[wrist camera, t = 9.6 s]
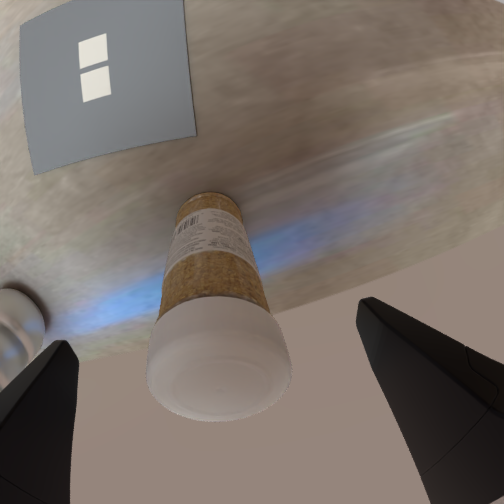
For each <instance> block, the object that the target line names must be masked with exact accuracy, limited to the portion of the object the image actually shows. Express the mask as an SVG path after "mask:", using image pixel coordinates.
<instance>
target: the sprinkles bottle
mask: <svg viewBox="0 0 504 504" xmlns="http://www.w3.org/2000/svg"><path fill="white" fill-rule="evenodd" d="M291 378H292V364H291V360H290V356H289V353H288V350H287V346H286V343H285V340H284V337H283V334H282V331H281V328H280V326H279V324H278V323H277V321H276V320H275V318H274V317H273V316H272V315H271V314H270V311H269V307H268V304H267V301H266V298H265V295H264V291H263V285H262V281H261V278H260V274H259V271H258V268H257V265H256V262H255V259H254V255H253V252H252V249H251V246H250V243H249V240H248V237H247V233H246V231H245V229H244V227H243V220H242V216H241V212H240V210H239V209H238V207H237V206H236V204H235V203H234V202H233V201H232V200H231V199H230V198H228V197H226V196H224V195H223V194H219V193H214V192H205V193H200V194H197V195H195V196H193V197H192V198H190V199H188V200H187V202H185V203H184V204H183V205H182V207H181V208H180V210H179V212H178V214H177V218H176V229H175V231H174V233H173V237H172V241H171V245H170V250H169V254H168V258H167V263H166V268H165V273H164V278H163V283H162V298H161V305H160V310H159V317H158V319H157V321H156V323H155V326H154V328H153V330H152V332H151V336H150V341H149V347H148V355H147V366H146V381H147V384H148V388H149V390H150V391H151V393H152V395H153V396H154V398H155V399H156V400H157V401H158V402H159V403H160V404H161V405H163V406H164V407H165V408H167V409H168V410H170V411H172V412H174V413H176V414H178V415H181V416H183V417H187V418H190V419H194V420H200V421H210V422H223V421H232V420H238V419H242V418H246V417H249V416H252V415H254V414H257V413H259V412H261V411H263V410H265V409H267V408H268V407H270V406H271V405H273V404H274V403H275V402H276V401H278V400H279V399H280V398H281V397H282V396H283V394H284V393H285V392H286V390H287V388H288V387H289V384H290V381H291Z"/></svg>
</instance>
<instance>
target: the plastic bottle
mask: <svg viewBox="0 0 504 504" xmlns="http://www.w3.org/2000/svg"><path fill="white" fill-rule="evenodd" d="M44 335H45V324H44V319H43V316H42V314H41V311H40V310H39V308H38V307H37V305H36V304H35V303H34V302H33V301H32V300H31V299H30V298H29V297H28V296H27V295H25V294H24V293H22V292H20V291H18V290H15V289H0V392H1V391H2V390H3V389H4V388H5V387H6V386H7V385H8V384H9V383H10V382H11V381H12V380H13V379H14V378H15V377H16V376H17V375H18V374H19V373H20V372H21V371H22V370H24V369H25V367H26V366H27V364H29V363H30V362H31V360H32V359H33V358H34V357H35V355H36V354H37V352H38V351H39V350H40V348H41V346H42V342H43V339H44Z"/></svg>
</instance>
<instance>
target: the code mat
mask: <svg viewBox="0 0 504 504" xmlns="http://www.w3.org/2000/svg"><path fill="white" fill-rule="evenodd" d="M20 81H21V95H22V105H23V114H24V122H25V129H26V135H27V141H28V147H29V152H30V157H31V162H32V167H33V171H34V175H37V174H40V173H43V172H46V171H49V170H52V169H55V168H58V167H62V166H65V165H68V164H71V163H75V162H78V161H82V160H85V159H89V158H93V157H96V156H100V155H104V154H108V153H112V152H116V151H120V150H125V149H129V148H133V147H138V146H143V145H148V144H153V143H158V142H163V141H168V140H174V139H180V138H186V137H192V136H197V135H196V127H195V119H194V110H193V102H192V93H191V84H190V74H189V64H188V54H187V43H186V32H185V20H184V6H183V0H72V1H69V2H67V3H65V4H62V5H60V6H58V7H56V8H54V9H51V10H49V11H47V12H45V13H43V14H41V15H39V16H37V17H35V18H33V19H31V20H29V21H28V22H26V23H24V24H22V25H20Z"/></svg>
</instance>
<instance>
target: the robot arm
mask: <svg viewBox="0 0 504 504" xmlns="http://www.w3.org/2000/svg"><path fill="white" fill-rule="evenodd" d="M356 326H357V329H358V332H359V334H360V337H361V340H362V343H363V345H364V348H365V351H366V354H367V357H368V360H369V362H370V365H371V368H372V370H373V372H374V374H375V376H376V378H377V380H378V382H379V384H380V387H381V389H382V391H383V393H384V395H385V397H386V399H387V401H388V403H389V406H390V408H391V410H392V412H393V414H394V417H395V419H396V421H397V423H398V425H399V428H400V430H401V432H402V434H403V437H404V439H405V441H406V444H407V446H408V448H409V451H410V453H411V455H412V458H413V460H414V462H415V465H416V467H417V469H418V472H419V474H420V476H421V480H422V482H423V485H424V487H425V490H426V492H427V495H428V498H429V500H430V503H431V504H504V364H502V363H499V362H497V361H495V360H493V359H490V358H489V357H487V356H485V355H483V354H481V353H479V352H477V351H475V350H473V349H471V348H469V347H467V346H465V345H463V344H462V343H460V342H458V341H456V340H454V339H452V338H451V337H449V336H447V335H445V334H443V333H441V332H439V331H437V330H436V329H434V328H432V327H430V326H428V325H426V324H424V323H422V322H420V321H418V320H417V319H415V318H413V317H411V316H409V315H407V314H405V313H403V312H401V311H399V310H398V309H396V308H394V307H392V306H390V305H388V304H386V303H384V302H382V301H380V300H378V299H376V298H374V297H368V298H363V299H361V300H360V301H359V304H358V310H357V317H356ZM78 372H79V360H78V358H77V356H76V354H75V353H74V351H73V349H72V348H71V346H70V344H69V343H68V342H67V341H66V340H56V341H54V342H53V343H52V344H51V345H49V346H48V347H47V348H46V349H45V350H44V351H43V352H42V353H41V354H40V355H38V356H37V357H36V358H35V359H34V360H33V361H32V362H31V363H30V364H29V365H28V366H27V367H26V368H25V369H24V370H22V371H21V372H20V373H19V374H18V375H17V376H16V377H15V378H14V379H13V380H12V381H11V382H10V383H9V384H8V385H7V386H6V387H5V388H4V389H3V390H2V391H1V392H0V504H70V472H71V454H72V453H71V452H72V441H73V431H74V430H73V429H74V422H75V413H76V404H77V386H78Z"/></svg>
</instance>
